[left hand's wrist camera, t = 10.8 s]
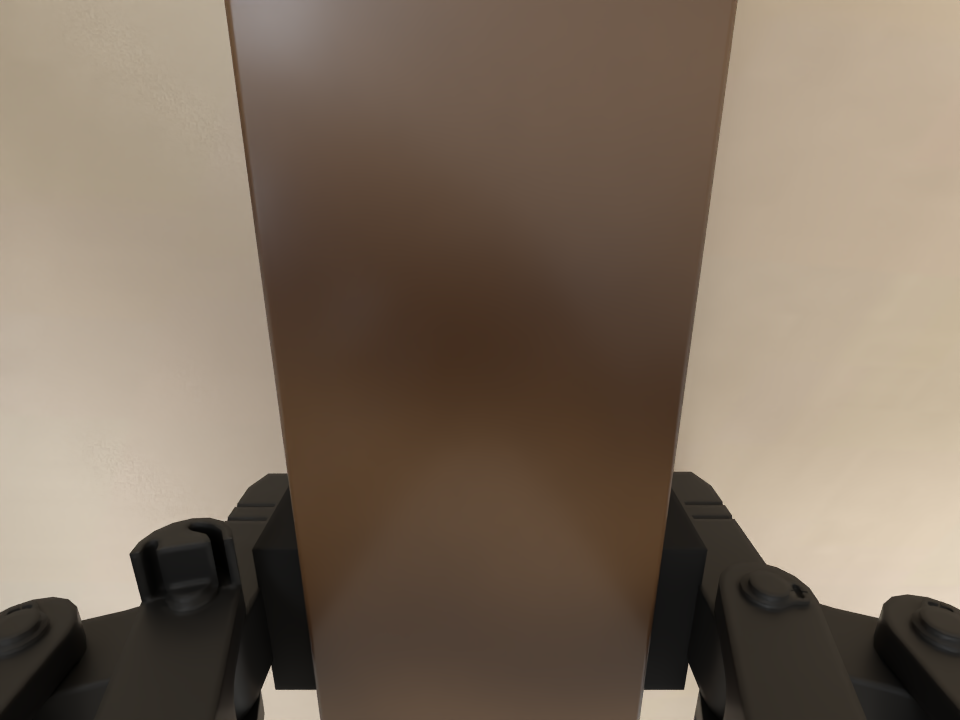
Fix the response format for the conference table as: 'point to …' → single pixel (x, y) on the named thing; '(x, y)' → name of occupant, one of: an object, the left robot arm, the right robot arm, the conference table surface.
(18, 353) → the conference table surface
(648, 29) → the beam
